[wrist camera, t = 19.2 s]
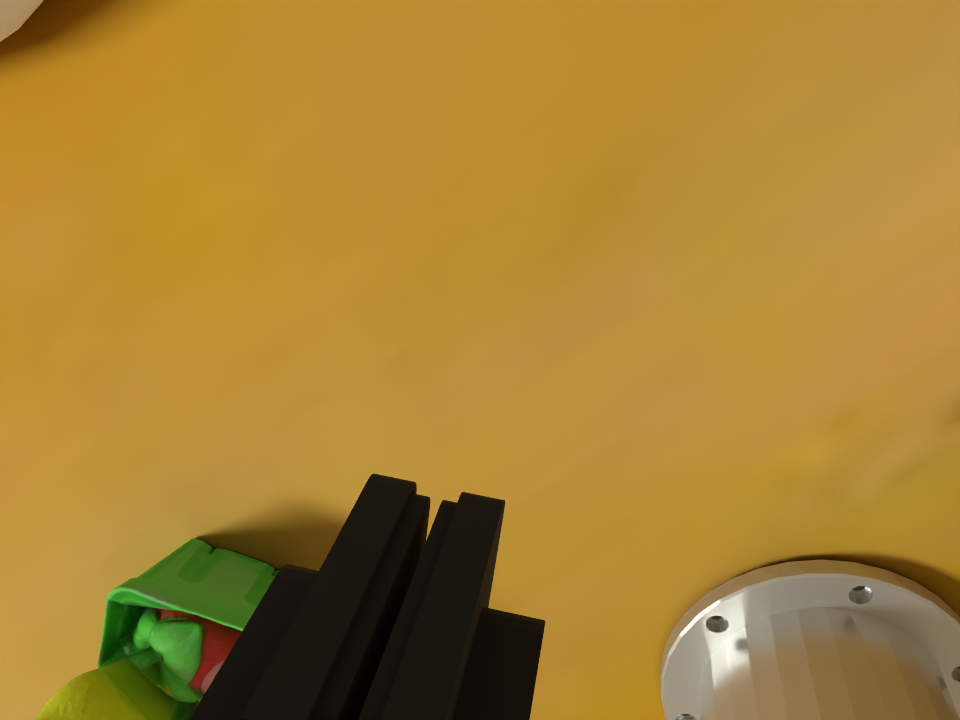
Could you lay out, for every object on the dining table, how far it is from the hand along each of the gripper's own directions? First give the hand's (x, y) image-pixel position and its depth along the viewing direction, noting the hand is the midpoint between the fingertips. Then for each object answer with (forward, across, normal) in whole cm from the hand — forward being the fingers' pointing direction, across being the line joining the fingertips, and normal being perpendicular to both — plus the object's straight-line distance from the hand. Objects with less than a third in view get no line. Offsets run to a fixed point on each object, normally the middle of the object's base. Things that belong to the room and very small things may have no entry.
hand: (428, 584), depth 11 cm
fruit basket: (+22, +13, +23) cm, 34 cm away
